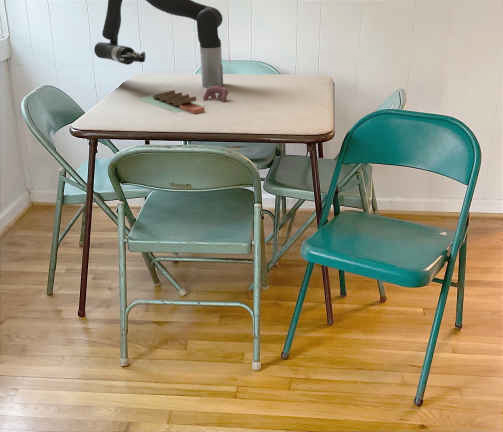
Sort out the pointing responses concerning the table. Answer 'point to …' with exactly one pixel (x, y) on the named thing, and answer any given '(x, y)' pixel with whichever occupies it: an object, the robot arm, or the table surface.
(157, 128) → the table surface
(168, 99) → the domino
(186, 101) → the domino
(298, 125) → the table surface
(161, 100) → the domino
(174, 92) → the domino
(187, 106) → the domino
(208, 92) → the video game controller
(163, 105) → the felt mat
